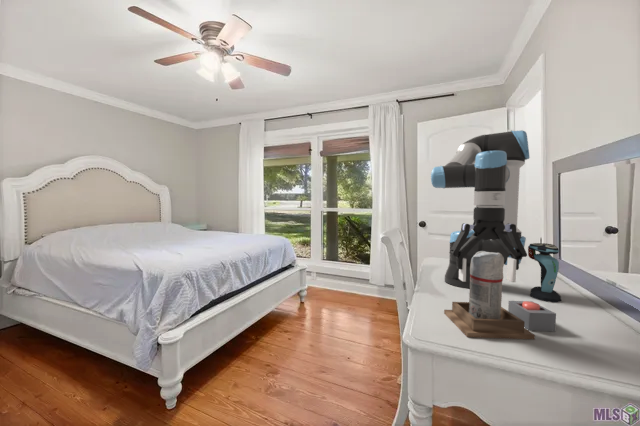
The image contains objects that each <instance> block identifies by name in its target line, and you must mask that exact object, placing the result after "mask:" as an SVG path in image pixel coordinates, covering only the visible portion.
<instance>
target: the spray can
mask: <svg viewBox="0 0 640 426" xmlns="http://www.w3.org/2000/svg"><path fill="white" fill-rule="evenodd" d="M504 266H505V264H504V257H503V256H502V254H500V253H493V252H485V251H479V252H477V253H476V254H475V255H474V256H473V257H472V259H471V264H470V288H469V293H468V294H469V295H468V297H469V298H468V299H469V313H470V314H471V315H472V316H473V317H474V318H476V319H501V307H502V299H503V298H502V296H503V293H502V292H503V281H504Z"/></svg>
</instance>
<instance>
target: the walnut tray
mask: <svg viewBox="0 0 640 426" xmlns="http://www.w3.org/2000/svg"><path fill="white" fill-rule="evenodd" d="M451 304H452V305H451V309H444V310H443V314H444V315H445V316H446V317H447V318H448V319H449V320H450V322H452V323H453V324H454V325H455V326H456V327H457V328H458V329H459V330H460V331H461V332H462V333H463V334H464V335H465V336H466V338H479V339H480V338H481V339H482V338H483V339H506V340H507V339H508V340H509V339H510V340H511V339H512V340H513V339H514V340H536V339H535V337H536V335H535V334H534V333H532V332H531V331H529V330H527V329H526V328H524V324H525V322H524V321H523V320H521V319H520V318H518V317H517V316H515V315H513V314H512V313H510V312H509V311H508V309H505V308H504V307H502V306H501V319H476V318H474V317H473V316H472V315H471V314H470V313H469V302H468V301H452V303H451Z"/></svg>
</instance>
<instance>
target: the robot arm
mask: <svg viewBox="0 0 640 426" xmlns="http://www.w3.org/2000/svg"><path fill="white" fill-rule="evenodd" d="M530 158H531V157H530V150H529V140H528V134H527V132H526V131H525V130H523V129H522V130H511V131H503V132H496V133H489V134H481V135H478V136H475V137H472V138H470V139H469V140H467V141H464V142H463V143H462V144H460V146H459V147H457V149H456V152H455V154H454V155H453V157H452V158H451V159H450V160H449V161H448V162H447V163H446V164H445V165H440V166H434V167H433V168H432V170H431V173H430V180H431V186H432V187H433V188H436V189H459V188H461V189H462V188H463V189H464V188H474V191H473V205H474V206H475V207H474V208H473V217H472V218H473V223H472V224H469V223H466V222H465V223H462V224H461V228H460V229H461V230H456V231H452V232H451V233H450V238H449V252H448V253H449V264H448V267H447V269H446V271H445V274H444V282H445V283H447V284H449V285H451V286H455V287H458V288H466V289H470V264H471V259H472V257H473V256H474V255H475V254H476V253H477V252H479V251H485V252H493V253H500V254H502V256H503V257H504V266H506V280H507V281H509V282H511V283H516V282H517V281H516V279H517V278H516V277H517V276H516V275H517V271H519V269H520V264H521V262H522V259H523V258H524V257H525V258H526V257H528V252H527V251H526V249H525V245H526V241H527V239H526V238H527V237H525V236H523V235H522V233H523V232H522V230H520V229H519V228H518V217H519V216H518V213H519V193H520V192H519V190H520V172H521V171H520V170H521V168H522V167H523V166H524V165H525V164H526V161H527V160H529V159H530Z"/></svg>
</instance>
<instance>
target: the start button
mask: <svg viewBox="0 0 640 426" xmlns="http://www.w3.org/2000/svg"><path fill="white" fill-rule="evenodd" d="M529 301H530V300H528V301H527V300H526V301H524V302H523V304H522V307H524V308H526V309H527V310H540V306H541V304H539V303H536V302H534V301H532V302H529Z"/></svg>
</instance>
